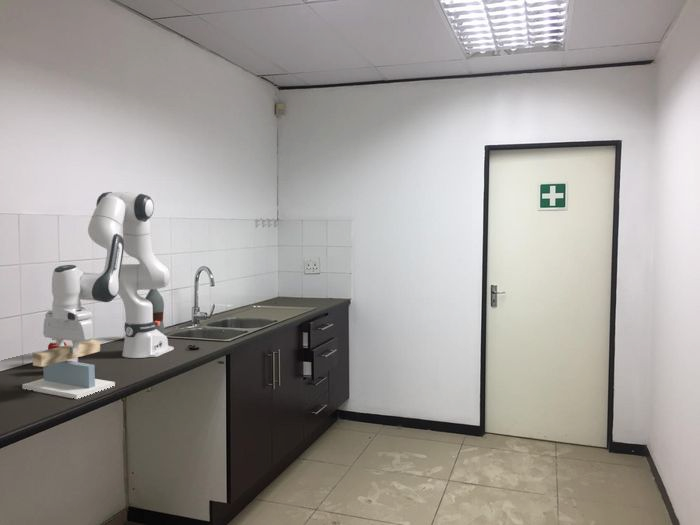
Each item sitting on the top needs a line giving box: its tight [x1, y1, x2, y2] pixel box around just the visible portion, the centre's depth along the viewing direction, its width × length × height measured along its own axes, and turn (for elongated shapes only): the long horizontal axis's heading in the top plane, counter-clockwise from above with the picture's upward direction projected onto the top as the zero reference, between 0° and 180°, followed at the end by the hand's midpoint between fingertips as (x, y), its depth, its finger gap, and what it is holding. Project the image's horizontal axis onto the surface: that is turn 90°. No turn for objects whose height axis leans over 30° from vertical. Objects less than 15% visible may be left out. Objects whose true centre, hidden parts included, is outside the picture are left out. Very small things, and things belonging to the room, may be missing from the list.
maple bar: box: [32, 338, 101, 368], centre depth 202 cm, size 24×4×4 cm, turn 156°
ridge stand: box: [21, 360, 116, 400], centre depth 203 cm, size 16×26×9 cm, turn 66°
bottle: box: [144, 289, 166, 335], centre depth 279 cm, size 9×9×30 cm
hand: (68, 352), depth 202 cm, fingers closed on maple bar, 4 cm apart
